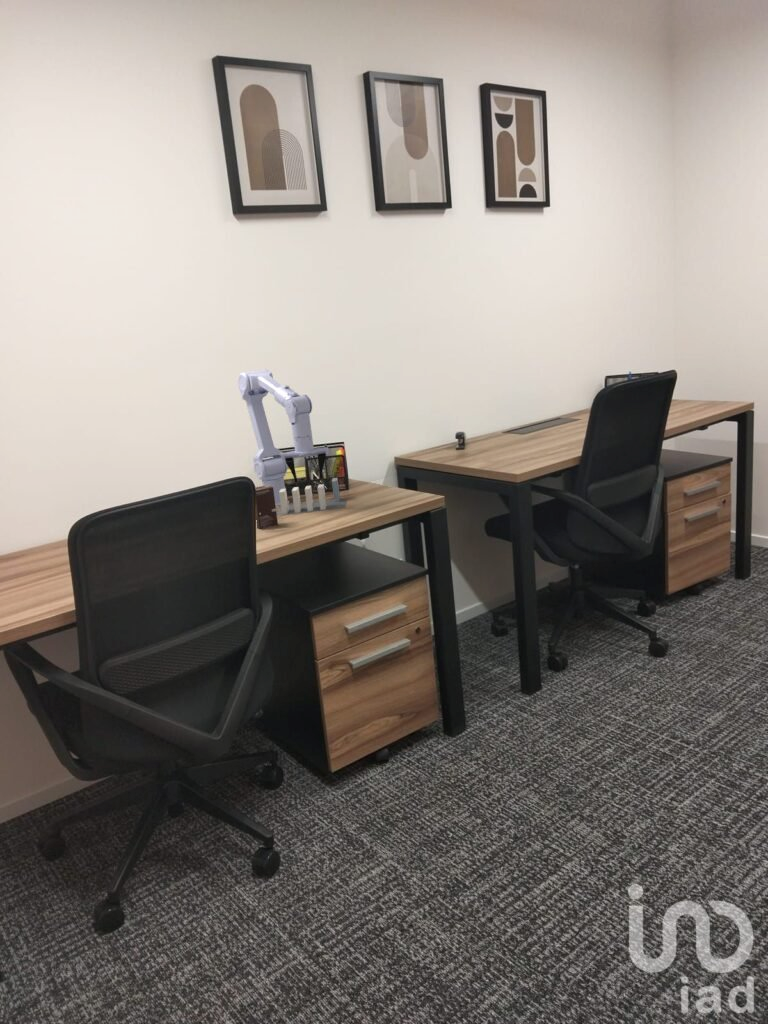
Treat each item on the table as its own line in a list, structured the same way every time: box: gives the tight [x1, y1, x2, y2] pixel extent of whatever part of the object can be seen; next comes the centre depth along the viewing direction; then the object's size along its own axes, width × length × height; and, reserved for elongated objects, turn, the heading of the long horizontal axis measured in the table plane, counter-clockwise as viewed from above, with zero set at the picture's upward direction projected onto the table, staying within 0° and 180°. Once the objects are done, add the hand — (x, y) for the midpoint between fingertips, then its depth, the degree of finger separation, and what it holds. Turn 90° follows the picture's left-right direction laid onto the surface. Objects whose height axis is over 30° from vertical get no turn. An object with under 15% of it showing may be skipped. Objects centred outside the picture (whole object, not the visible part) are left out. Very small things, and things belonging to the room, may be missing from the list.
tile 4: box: [317, 483, 327, 510], centre depth 230 cm, size 2×5×7 cm, turn 1°
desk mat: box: [276, 497, 348, 517], centre depth 234 cm, size 22×15×1 cm
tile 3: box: [304, 485, 314, 511], centre depth 230 cm, size 2×5×7 cm, turn 1°
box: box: [255, 485, 279, 530], centre depth 214 cm, size 6×4×12 cm
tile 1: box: [279, 487, 289, 514], centre depth 230 cm, size 2×5×7 cm, turn 1°
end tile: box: [331, 477, 341, 503], centre depth 238 cm, size 2×5×7 cm, turn 1°
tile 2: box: [291, 486, 302, 513], centre depth 230 cm, size 2×5×7 cm, turn 1°
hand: (308, 480), depth 226 cm, fingers open, 7 cm apart
